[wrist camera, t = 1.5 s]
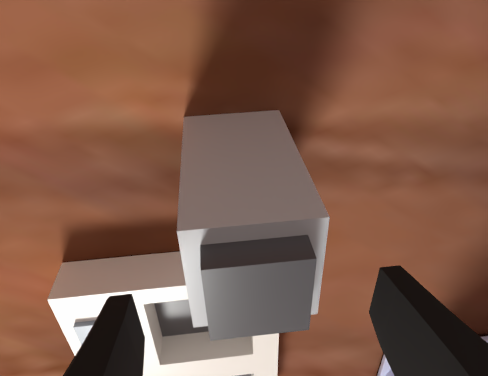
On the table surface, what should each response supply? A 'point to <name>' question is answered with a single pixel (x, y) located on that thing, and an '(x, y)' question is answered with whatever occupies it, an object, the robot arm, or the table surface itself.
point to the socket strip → (156, 317)
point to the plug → (248, 226)
